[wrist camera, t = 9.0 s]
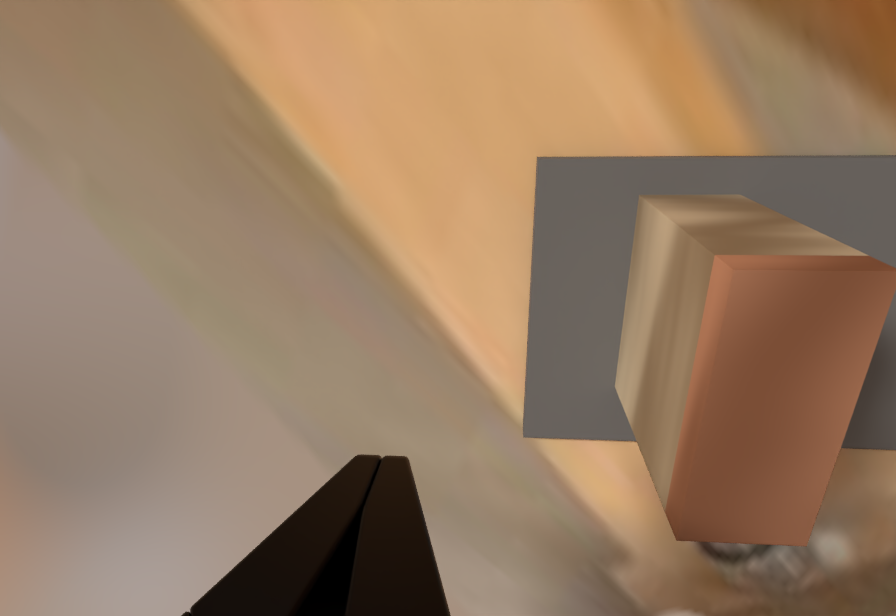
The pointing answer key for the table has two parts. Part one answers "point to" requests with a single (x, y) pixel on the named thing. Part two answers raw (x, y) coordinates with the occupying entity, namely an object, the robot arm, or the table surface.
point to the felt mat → (609, 256)
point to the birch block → (743, 362)
